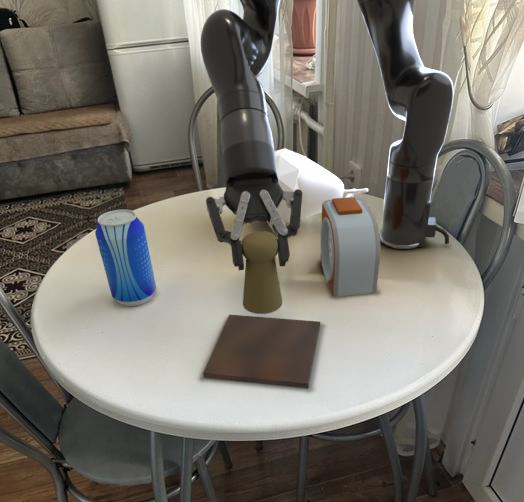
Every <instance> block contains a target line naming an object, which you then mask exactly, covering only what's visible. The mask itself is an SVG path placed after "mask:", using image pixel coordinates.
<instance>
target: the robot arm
mask: <svg viewBox="0 0 524 502" xmlns="http://www.w3.org/2000/svg"><path fill="white" fill-rule="evenodd" d="M356 1H357V4H358V7H359V9H360V13H361V15H362V17H363V20H364V24H365V27H366V29H367V32H368V35H369V38H370V41H371V43H372V46H373V49H374V51H375V55H376V58H377V62H378V66H379V69H380V74H381V80H382V84H383V88H384V92H385V93H384V94H385V97H386V101H387V104H388V107H389V109H390V111H391V112H392V114H393V115H394V116H395V117H397V118H398V119H400V120H403V121H405V123H404V129H403V134H402V138H401V139H399V140H397V141H395V142H393V143H392V144H391V145H390V148H389V154H388V163H387V171H386V181H385V188H384V189H385V190H384V199H383V207H382V208H383V209H382V218H381V224H380V225H381V226H380V232H379V236H380V243H381V244H383V245H384V246H387V247H389V248H393V249H399V250H410V249H411V250H412V249H415V248H424V247H425V242H426V238H433V239H434V238H435V237H436V232H438V233H440V234H442V235H443V237H444V244H445V245H448V244H450V236H449V233H448V232H447V231H446V230H445V229H443V228H441V227H439V226H438V225H437V218H436V217H434V216H430V212H431V207H432V202H431V197H432V191H433V185H434V179H435V175H436V174H435V172H436V167H437V161H438V156H439V154H440V151H441V150H442V148H443V146H444V143H445V140H446V136H447V132H448V128H449V127H448V126H449V122H450V118H451V113H452V109H453V103H454V84H453V81H452V79H451V77H450V76H449V75H448V74H446V73H445V72H443V71H440V70H436V69H432V68H428V67H425V65H424V63H423V61H422V59H421V57H420V54H419V51H418V47H417V44H416V40H415V36H414V28H413V24H414V23H413V22H414V21H413V20H414V14H415V13H414V12H415V3H416V0H356ZM239 2H240V4H241V6H242V10H243V14H242V17H241V16H240V15H238V14H237V13H236V12H234V11H233V10H230V9H226V8H223V9H218V10H215V11H213V12H212V13H211V14H210V15H209V16H208V17H207V18H206V20H205V22H204V24H203V26H202V29H201V34H200V52H201V53H200V54H201V57H202V61H203V65H204V67H205V71H206V73H207V76H208V79H209V82H210V84H211V87H212V90H213V92H214V95H215V96H216V99H217V109H218V117H219V118H218V119H219V126H220V133H219V134H220V135H219V137H220V154H221V158H222V165H223V174H224V176H223V177H224V183H225V191H224V193H223V195H222V196H219V197H216V198H214V197H213V196H208V197H207V198H206V199H205V206H206V211H207V213H208V216H209V220H210V222H211V225H212V228H213V231H214V234H215V237H216V239H217V242H219V243H226V244H229V245H230V248H231V257H232V265H233V266H234V267H235V268H238V271H245V263H244V262H245V261H244V256H243V253H242V240H241V237H242V233H243V229H244V226H245V224H252V223H255V222H259V223H265V222H266V223H267V224H268V226H269V228H270V229H271V230H272V232H273V233H274V236H275V237H276V239H277V241H278V253H277V259H278V265H279V267H285V266H286V264H287V263H288V262H289V259H290V256H291V253H290V247H289V238H290V237H295V236H297V234H298V232H299V229H300V228H301V227H300V226H301V221H300V217H301V205H302V191H301V190H299V189H297V190H295V191H294V192H289V191H283V189H282V188H281V186H280V185H279V182H278V175H277V167H276V160H275V152H274V151H275V145H274V138H273V132H272V128H271V125H270V120H269V113H268V107H267V105H268V104H267V99H266V93H265V90H264V86H263V84H262V83H261V82H260V81H259V79H258V78H259V77H260V75H261V74H262V73H263V71H265V69H266V67H267V65H268V63H269V60H270V57H271V53H272V50H273V44H274V39H275V33H276V28H277V23H278V17H279V9H280V5H281V2H282V0H239ZM282 200H285V201H286V205H287V207H288V208H291V215H290V225H287V226H285V225H284V223H283V221H282V219H281V216H280V214H279V212H278V210H277V208H278V206H279V204H280V202H281V201H282ZM224 206H226V207H227V208H228V209H229V210H230V211H231V212H232V213H233V215H235V217H234V220H233V225H232V228H231V231H229V230H226V228H225V226H224V223H223V219H222V217H221V214H223V211H224V209H223V208H224Z"/></svg>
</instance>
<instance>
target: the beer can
mask: <svg viewBox="0 0 524 502" xmlns="http://www.w3.org/2000/svg"><path fill="white" fill-rule="evenodd" d="M94 233H95V237H96V242H97V245H98V249H99V254H100V257H101V261H102V264H103V269H104V272H105V276H106V280H107V284H108V287H109V290H110V295H111V297H112V298H113V299H114V301H117V303H118V304H119V305H122V306H127V307H134V306H139V305H144V304H145V303H147V302H149V301H151V299H152V298H153V297H154V294H155V292H156V290H157V284H156V279H155V274H154V269H153V264H152V260H151V254H150V249H149V245H148V244H149V243H148V239H147V234H146V229H145V225H144V223H143V222H142V221H141V220H140V219H139V218H138V216H137V213H136V212H135V211H134V210H130V209H115V210H114V209H113V210H110V211H106V212H103V213H102V214H100V215H99V216H98V217H97V225H96V228H95V232H94Z"/></svg>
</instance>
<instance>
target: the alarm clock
mask: <svg viewBox="0 0 524 502" xmlns="http://www.w3.org/2000/svg"><path fill="white" fill-rule="evenodd" d="M320 225H321V226H320V262H319V263H320V265H321V268H322V271H323V274H324V277H325V280H326V281H327V284H328V286H329V289H330V292H331V294H332V296H333V298H334V297H345V296H346V297H347V296H358V295H370V294H376V293H377V289H378V282H379V271H380V262H381V241H380V230H379V224H378V220H377V218H376V216H375V214H374V212H373V211H372V209H371V208H370V206H369V205H368V204H367V202H366V200H365V199H363V198H360V197H354V196H353V197H347V198H346V197H342V198H335V199H331V200H326V201H324V202H323V203H322V212H321V224H320Z"/></svg>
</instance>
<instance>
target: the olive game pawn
mask: <svg viewBox="0 0 524 502" xmlns="http://www.w3.org/2000/svg"><path fill="white" fill-rule="evenodd" d="M277 239H278V238H277V237H276V235H275V234H273V233H271V232H269V231H264V230H257V231H252V232H249V233H247V234H246V235H244V237H243V238H242V240H241V244H242V253H243V258H245V265H244V281H243V294H242V306H243V308H244V309H245V311H247V312H248V313H252V314H255V315H267V314H273V313H274V312H276V311H278V310H280V308H281V307H282V306H283V296H282V291H281V285H280V280H279V274H278V273H279V272H278V268H277V262H276V256H278V241H277Z"/></svg>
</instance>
